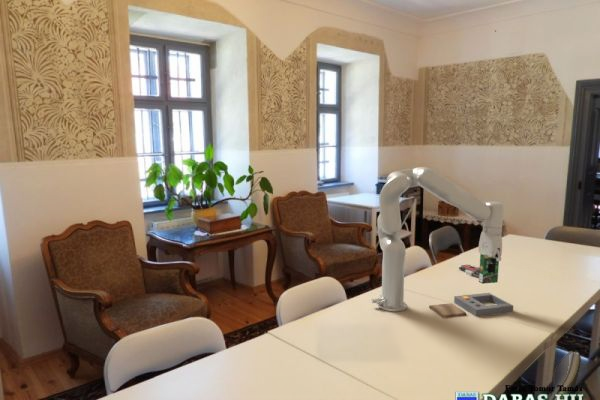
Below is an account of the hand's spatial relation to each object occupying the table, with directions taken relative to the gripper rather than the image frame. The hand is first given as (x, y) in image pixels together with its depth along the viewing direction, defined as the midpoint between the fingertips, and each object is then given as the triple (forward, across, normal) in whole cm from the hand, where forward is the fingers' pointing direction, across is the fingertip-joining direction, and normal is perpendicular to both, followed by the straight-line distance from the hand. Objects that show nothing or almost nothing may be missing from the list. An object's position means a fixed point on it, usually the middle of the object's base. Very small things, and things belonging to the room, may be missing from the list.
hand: (488, 270), depth 185 cm
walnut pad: (+17, 0, -19) cm, 26 cm away
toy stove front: (+17, 0, -2) cm, 17 cm away
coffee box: (+5, 0, 0) cm, 5 cm away
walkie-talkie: (+17, -42, +24) cm, 51 cm away
